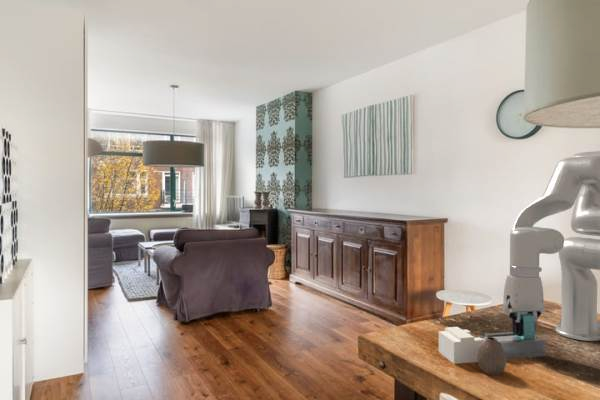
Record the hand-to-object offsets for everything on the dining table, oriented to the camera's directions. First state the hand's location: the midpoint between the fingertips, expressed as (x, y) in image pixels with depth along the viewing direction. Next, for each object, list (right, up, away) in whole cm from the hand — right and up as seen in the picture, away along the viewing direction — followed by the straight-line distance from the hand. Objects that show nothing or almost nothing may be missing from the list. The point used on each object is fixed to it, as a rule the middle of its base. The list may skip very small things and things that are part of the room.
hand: (523, 333), depth 118 cm
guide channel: (-3, -5, 0) cm, 6 cm away
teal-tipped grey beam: (-5, -4, -1) cm, 6 cm away
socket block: (-19, -5, -3) cm, 20 cm away
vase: (-15, -6, -13) cm, 21 cm away
